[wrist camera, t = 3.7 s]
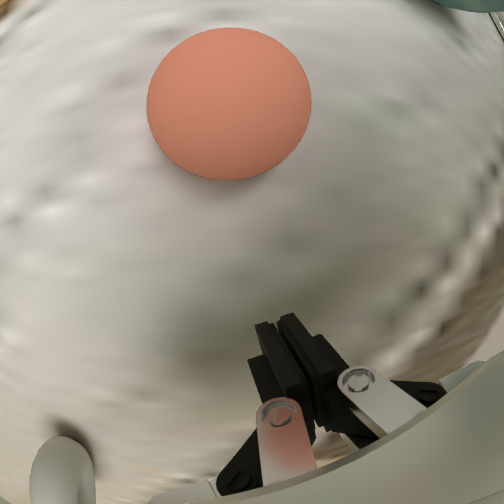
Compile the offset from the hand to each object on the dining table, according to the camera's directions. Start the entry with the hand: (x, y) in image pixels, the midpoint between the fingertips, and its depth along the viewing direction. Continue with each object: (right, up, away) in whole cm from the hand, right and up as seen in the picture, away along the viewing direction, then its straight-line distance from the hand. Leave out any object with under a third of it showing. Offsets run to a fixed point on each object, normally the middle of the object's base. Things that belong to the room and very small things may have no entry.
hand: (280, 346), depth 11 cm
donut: (-15, -12, +3) cm, 20 cm away
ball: (-2, +9, -3) cm, 10 cm away
